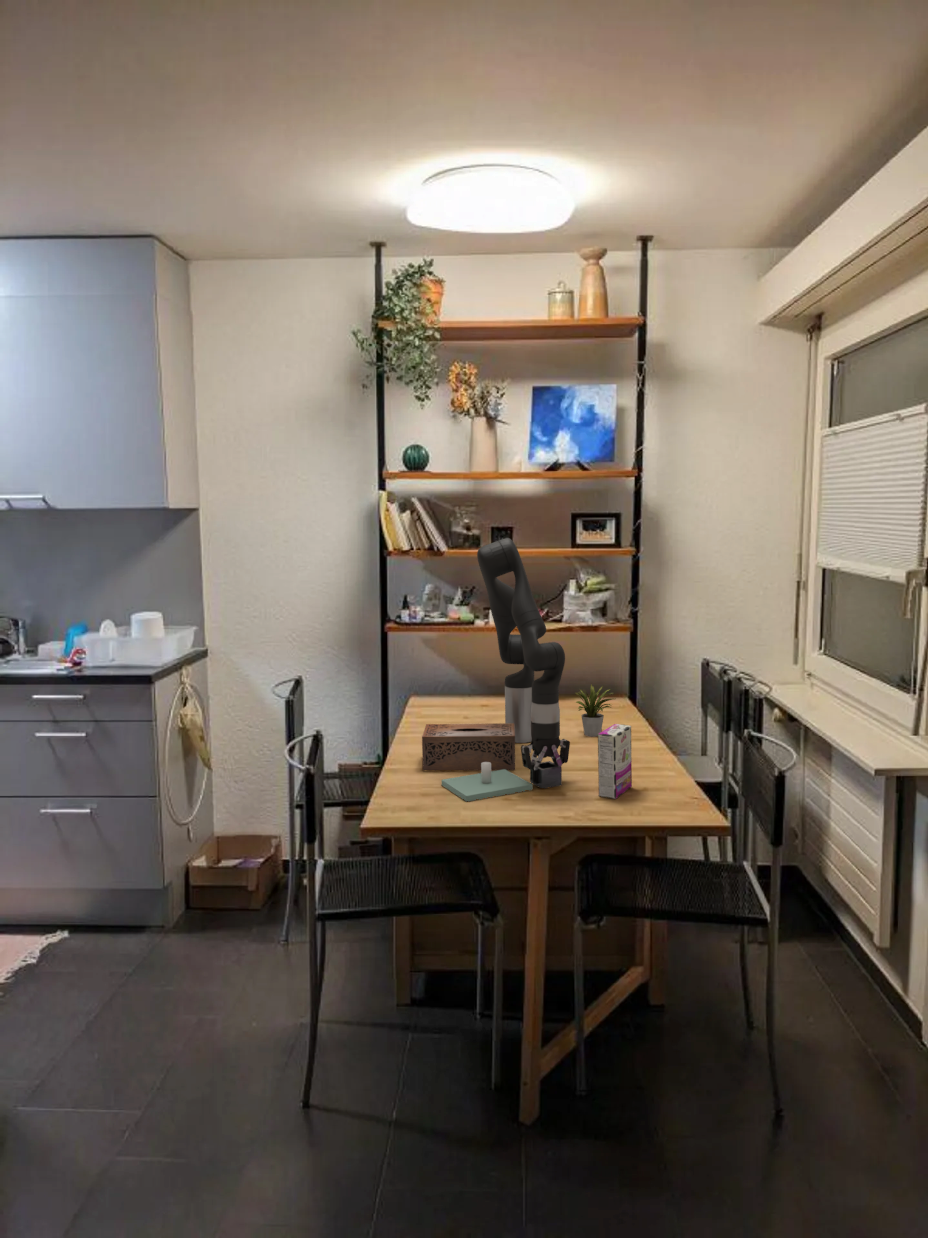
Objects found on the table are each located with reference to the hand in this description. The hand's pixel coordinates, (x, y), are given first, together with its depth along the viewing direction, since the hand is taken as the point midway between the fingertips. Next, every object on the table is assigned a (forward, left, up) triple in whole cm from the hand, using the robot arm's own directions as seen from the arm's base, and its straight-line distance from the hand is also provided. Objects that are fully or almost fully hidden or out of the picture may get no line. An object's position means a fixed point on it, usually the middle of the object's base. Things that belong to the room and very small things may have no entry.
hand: (545, 781), depth 230 cm
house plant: (-38, -35, -1) cm, 52 cm away
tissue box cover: (+9, -27, -1) cm, 29 cm away
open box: (0, 0, -1) cm, 1 cm away
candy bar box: (-12, +14, -1) cm, 18 cm away
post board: (+15, -5, -1) cm, 16 cm away
